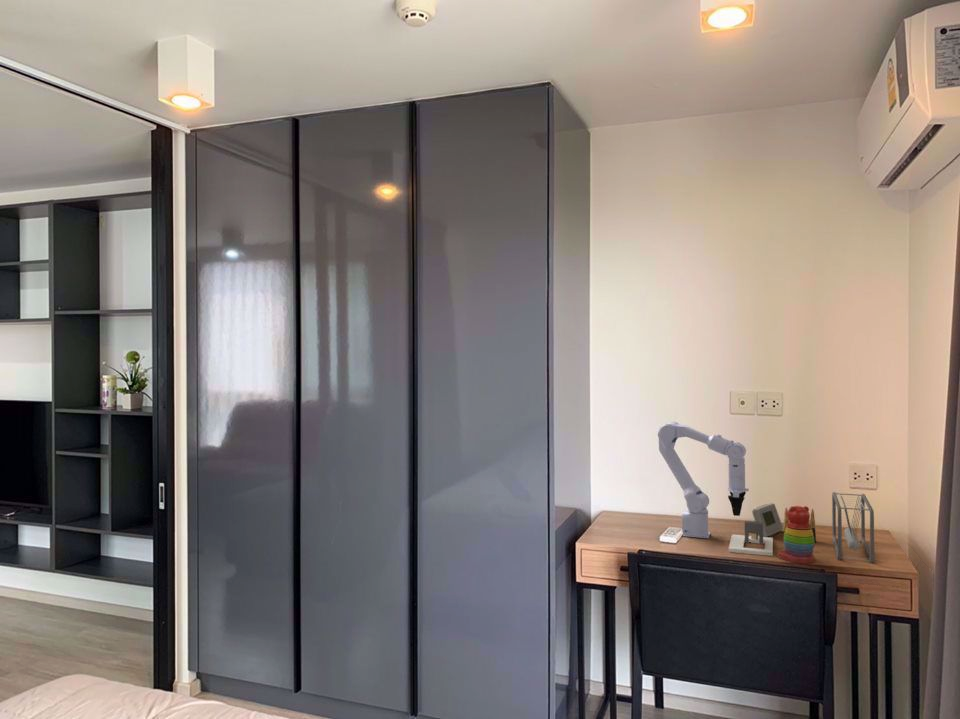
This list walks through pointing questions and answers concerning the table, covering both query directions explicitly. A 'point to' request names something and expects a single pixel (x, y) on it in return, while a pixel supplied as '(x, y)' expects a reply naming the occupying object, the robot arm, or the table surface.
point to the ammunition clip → (811, 523)
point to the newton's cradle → (850, 532)
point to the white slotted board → (739, 540)
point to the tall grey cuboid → (754, 530)
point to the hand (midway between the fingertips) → (737, 513)
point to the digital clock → (768, 519)
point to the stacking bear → (798, 537)
